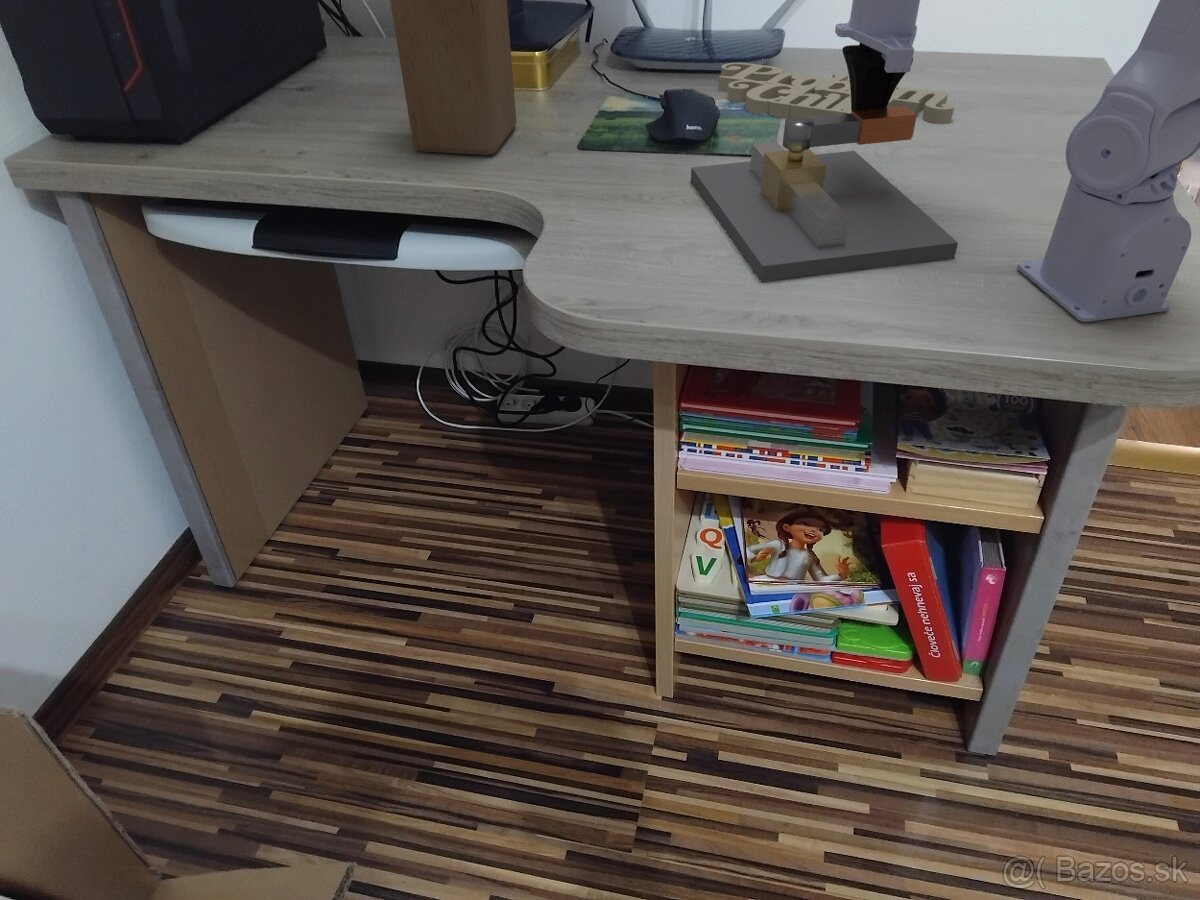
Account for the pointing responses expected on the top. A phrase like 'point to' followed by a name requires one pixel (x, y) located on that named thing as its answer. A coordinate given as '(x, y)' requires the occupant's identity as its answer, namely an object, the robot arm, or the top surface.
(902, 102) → the decorative sign
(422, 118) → the block
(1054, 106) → the top surface
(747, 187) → the mounting board
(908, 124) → the valve lever
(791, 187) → the ball valve
